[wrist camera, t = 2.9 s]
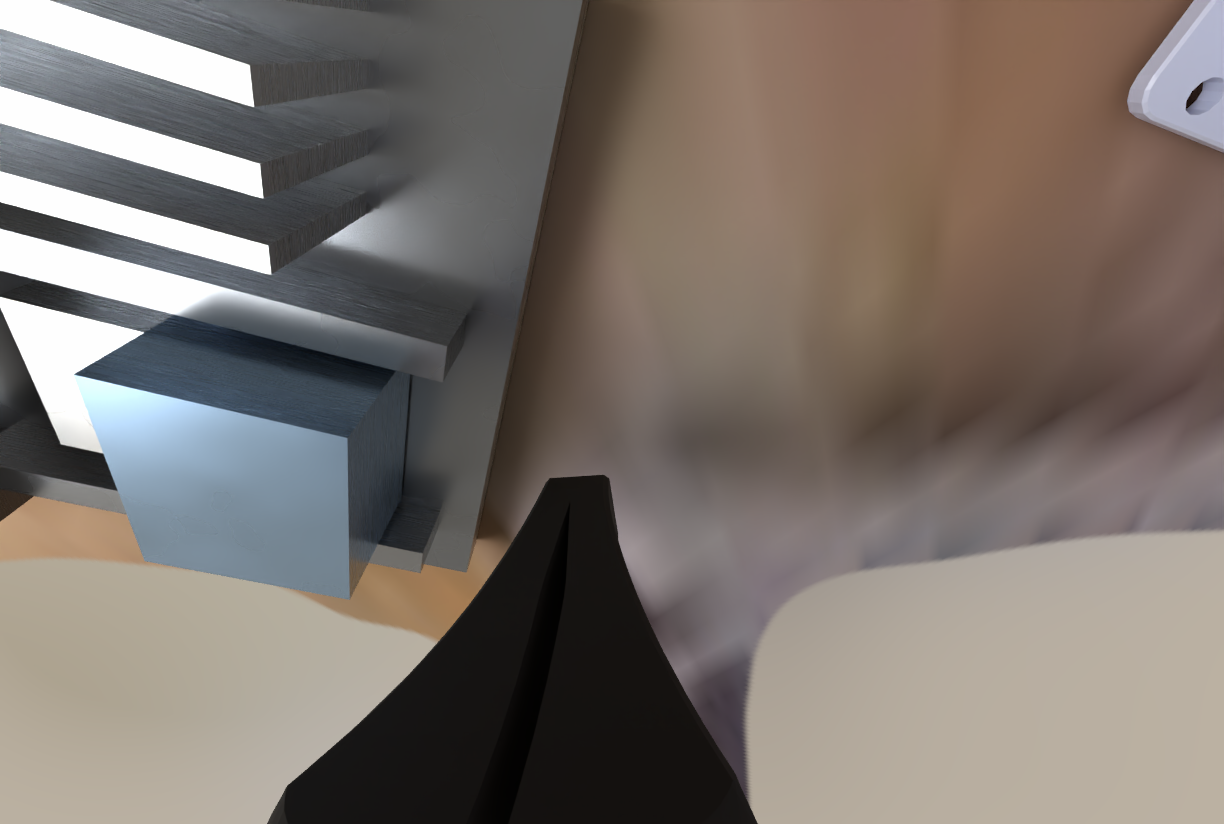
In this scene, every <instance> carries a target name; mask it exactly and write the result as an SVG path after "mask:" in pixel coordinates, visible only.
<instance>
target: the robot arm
mask: <svg viewBox="0 0 1224 824" xmlns="http://www.w3.org/2000/svg"><path fill="white" fill-rule="evenodd" d="M1202 82H1203V89H1202V92H1201V93H1200V95H1199V97H1198V98H1197V100H1196V101H1195V102H1194V103H1193V104H1192V105H1190V106H1189V107H1188V108H1187V109H1186V101H1187V99H1188V97H1189V96H1190V94H1191V92H1192V91H1193V90H1194V89H1195V88H1196V87H1197V86H1198V85H1199V84H1200V83H1202ZM1127 103H1128V107H1129V112H1130V113H1132V114H1133V115H1134V116H1135V117H1136V118H1138V119H1141V120H1143V121H1146V122H1148V123H1151V124H1153V125H1156V126H1158V127H1161V128H1163V129H1166V130H1168V131H1171V132H1173V133H1176V134H1178V135H1180V136H1183V137H1185V138H1188V139H1190V140H1193V141H1195V142H1198V143H1200V144H1203V145H1205V146H1208V147H1210V148H1213V149H1215V150H1218V151H1220V152H1223V153H1224V0H1194V1H1193V2H1192V4H1191V5H1190V6H1189V8H1188V9H1187V10H1186V12H1185V13H1184V14H1183V16H1182V17H1181V18H1180V20H1179V21H1178V22H1177V24H1176V25H1175V26H1174V28H1173V29H1172V30H1171V32H1170V33H1169V34H1168V36H1167V37H1166V38H1165V40H1164V41H1163V42H1162V44H1161V45H1160V46H1159V48H1158V49H1157V50H1156V52H1155V53H1154V54H1153V56H1152V57H1151V58H1150V60H1149V61H1148V62H1147V64H1146V65H1145V66H1144V68H1143V69H1142V70H1141V72H1140V73H1139V74H1138V76H1137V78H1136V79H1135V81H1134V83H1133V84H1132V86H1131V88H1130V91H1129V96H1128V100H1127ZM267 824H758V823H757V821H756V819H755V817H754V815H753V812H752V810H751V808H750V806H749V804H748V802H747V799H746V797H745V795H744V793H743V791H742V789H741V786H740V784H739V782H738V779H737V777H736V775H735V773H734V771H733V769H732V768H731V766H730V765H729V763H728V762H727V760H726V759H725V757H724V756H723V754H722V752H721V751H720V749H719V748H718V746H717V745H716V743H715V741H714V740H713V738H712V736H711V735H710V733H709V732H708V730H707V728H706V727H705V725H704V724H703V722H702V720H701V718H700V717H699V715H698V713H697V712H696V710H695V708H694V707H693V705H692V703H691V701H690V700H689V698H688V696H687V695H686V693H685V691H684V689H683V687H682V685H681V683H680V682H679V680H678V678H677V676H676V674H675V672H674V670H673V669H672V667H671V665H670V663H669V661H668V659H667V657H666V656H665V654H664V652H663V650H662V648H661V646H660V644H659V642H658V640H657V637H656V635H655V633H654V631H653V629H652V627H651V625H650V623H649V620H648V618H647V616H646V614H645V612H644V609H643V607H642V605H641V602H640V600H639V598H638V595H637V593H636V590H635V588H634V585H633V583H632V580H631V577H630V575H629V572H628V569H627V567H626V564H625V561H624V558H623V555H622V552H621V548H620V545H619V541H618V531H617V525H616V518H615V512H614V506H613V499H612V493H611V487H610V480H609V478H608V477H606V476H605V475H594V476H579V477H563V478H550V479H549V480H548V481H547V482H546V484H545V486H544V488H543V490H542V491H541V493H540V495H539V497H538V499H537V501H536V503H535V505H534V507H533V508H532V510H531V512H530V514H529V515H528V517H527V519H526V521H525V522H524V524H523V526H522V528H521V529H520V531H519V532H518V534H517V536H516V537H515V539H514V540H513V542H512V544H511V545H510V547H509V548H508V550H507V552H506V553H505V555H504V556H503V558H502V559H501V561H500V562H499V564H498V565H497V567H496V568H495V570H494V571H493V572H492V574H491V575H490V577H489V578H488V580H487V581H486V582H485V584H484V585H483V587H482V588H481V590H480V591H479V592H478V594H477V595H476V596H475V598H474V599H473V600H472V602H471V603H470V604H469V606H468V607H467V608H466V609H465V611H464V612H463V613H462V614H461V616H460V617H459V618H458V619H457V621H456V622H455V623H454V624H453V625H452V627H451V628H450V629H449V630H448V631H447V633H446V634H445V635H444V636H443V637H442V638H441V640H440V641H439V642H438V643H437V644H436V645H435V646H434V647H433V649H432V650H431V651H430V652H429V653H428V654H427V656H425V658H424V659H423V660H422V661H421V662H420V663H419V664H418V665H417V666H416V667H415V668H414V669H413V671H412V672H411V673H410V674H409V675H408V676H407V677H406V678H405V679H404V680H403V681H402V682H401V683H400V684H399V685H398V686H397V687H396V688H395V689H394V690H393V691H392V692H391V693H390V694H389V695H388V696H387V697H386V698H385V699H384V700H383V701H382V702H380V703H379V704H378V705H377V706H376V707H375V708H374V709H373V710H372V711H371V712H370V713H369V714H368V715H367V716H366V717H365V718H364V719H363V720H362V721H361V722H360V723H359V724H358V725H357V726H356V727H354V728H353V729H352V730H351V731H350V732H349V733H348V734H347V735H346V736H344V737H343V738H342V739H341V740H340V741H339V742H338V743H336V744H335V745H334V746H333V747H332V748H331V749H330V750H328V751H327V752H326V753H325V754H324V755H323V756H321V757H320V758H319V759H318V760H317V761H316V762H315V763H313V764H312V765H311V766H310V767H309V768H308V769H307V770H305V771H304V772H303V773H302V774H301V775H300V776H298V777H297V778H296V779H295V780H294V781H292V782H291V783H290V784H289V785H288V786H287V787H286V789H285V791H284V793H283V795H282V797H281V799H280V800H279V802H278V804H277V806H276V807H275V809H274V811H273V813H272V815H271V817H270V819H269V821H268V823H267Z"/></svg>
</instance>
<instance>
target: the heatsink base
mask: <svg viewBox="0 0 1224 824" xmlns="http://www.w3.org/2000/svg"><path fill="white" fill-rule="evenodd" d="M588 4H589V0H0V294H2V293H5V292H7V291H10V290H13V289H15V288H18V287H20V286H23V285H25V284H28V283H30V282H33V281H35V280H40V281H44V282H48V283H52V284H56V285H59V286H63V287H67V288H71V289H75V290H79V291H83V292H87V293H91V294H95V295H99V296H103V297H107V298H111V299H115V300H119V301H123V302H127V303H131V304H135V305H139V306H142V307H146V308H150V309H154V310H158V311H162V312H166V313H170V314H174V315H178V316H182V317H186V318H190V319H194V320H198V321H202V322H206V323H210V324H214V325H218V326H222V327H225V328H229V329H233V330H237V331H241V332H245V333H249V334H253V335H257V336H261V337H265V338H269V339H273V340H277V341H281V342H285V343H289V344H293V345H297V346H301V347H305V348H308V349H312V350H316V351H320V352H324V353H328V354H332V355H336V356H340V357H344V358H348V359H352V360H356V361H360V362H364V363H368V364H372V365H376V366H380V367H384V368H388V369H391V370H395V371H399V372H403V373H407V374H410V383H409V397H408V411H407V425H406V439H405V452H404V466H403V480H402V494H401V500H400V501H399V503H398V505H397V507H396V509H395V511H394V513H393V515H392V517H391V519H390V521H389V523H388V525H387V527H386V529H385V531H384V533H383V535H382V537H381V539H380V541H379V543H378V545H377V547H376V549H375V551H374V553H373V555H372V557H371V559H370V561H369V563H373V564H378V565H383V566H388V567H393V568H398V569H403V570H408V571H413V572H418V573H421V570H422V568H423V565H424V564H427V565H432V566H437V567H442V568H447V569H452V570H457V571H462V572H467V569H468V566H469V563H470V560H471V556H472V553H473V550H474V547H475V543H476V540H477V535H478V531H479V526H480V521H481V516H482V511H483V507H484V502H485V497H486V492H487V487H488V483H489V478H490V473H491V468H492V464H493V459H494V454H495V449H496V444H497V440H498V435H499V430H500V425H501V420H502V416H503V411H504V406H505V401H506V396H507V392H508V387H509V382H510V377H511V373H512V368H513V363H514V358H515V353H516V349H517V344H518V339H519V334H520V329H521V325H522V320H523V315H524V310H525V306H526V301H527V296H528V291H529V286H530V282H531V277H532V272H533V267H534V262H535V258H536V253H537V248H538V243H539V239H540V234H541V229H542V224H543V219H544V215H545V210H546V205H547V200H548V195H549V191H550V186H551V181H552V176H553V172H554V167H555V162H556V157H557V152H558V148H559V143H560V138H561V133H562V128H563V124H564V119H565V114H566V109H567V105H568V100H569V95H570V90H571V85H572V81H573V76H574V71H575V66H576V61H577V57H578V52H579V47H580V42H581V37H582V33H583V28H584V23H585V18H586V14H587V9H588ZM33 496H37V497H42V498H47V499H52V500H57V501H62V502H67V503H72V504H77V505H82V506H87V507H92V508H97V509H102V510H107V511H112V512H117V513H122V514H127V513H126V511H125V508H124V506H123V503H122V500H121V498H120V495H119V493H118V490H117V487H116V485H115V482H114V480H113V477H112V474H111V472H110V469H109V467H108V464H107V461H106V459H105V456H104V454H103V453H99V452H94V451H90V450H85V449H80V448H76V447H71V446H66V445H62V444H61V443H60V441H59V438H58V436H57V434H56V432H55V429H54V427H53V425H52V423H51V420H50V418H49V416H48V414H47V411H46V409H45V407H44V405H43V402H42V400H41V398H40V396H39V393H38V391H37V389H36V387H35V384H34V382H33V380H32V377H31V375H30V373H29V371H28V368H27V366H26V364H25V362H24V359H23V357H22V355H21V353H20V350H19V348H18V346H17V344H16V341H15V339H14V337H13V335H12V332H11V330H10V328H9V325H8V323H7V321H6V319H5V316H4V314H3V312H2V310H1V307H0V521H2V520H3V519H4V518H6V517H7V516H8V515H9V514H11V513H12V512H13V511H15V510H16V509H17V508H19V507H20V506H21V505H23V504H24V503H25V502H27V501H28V500H29V499H31V498H32V497H33Z"/></svg>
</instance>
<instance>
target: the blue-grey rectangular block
mask: <svg viewBox="0 0 1224 824" xmlns="http://www.w3.org/2000/svg"><path fill="white" fill-rule="evenodd" d="M0 307H1V310H2V312H3V314H4V316H5V319H6V321H7V323H8V325H9V328H10V330H11V332H12V335H13V337H14V339H15V341H16V344H17V346H18V348H19V350H20V353H21V355H22V357H23V359H24V362H25V364H26V366H27V368H28V371H29V373H30V375H31V377H32V380H33V382H34V384H35V387H36V389H37V391H38V393H39V396H40V398H41V400H42V402H43V405H44V407H45V409H46V411H47V414H48V416H49V418H50V420H51V423H52V425H53V427H54V429H55V432H56V434H57V436H58V438H59V441H60V443H61V444H62V445H66V446H71V447H76V448H80V449H85V450H90V451H94V452H99V453H103V454H104V456H105V459H106V461H107V464H108V467H109V469H110V472H111V474H112V477H113V480H114V482H115V485H116V487H117V490H118V493H119V495H120V498H121V500H122V503H123V506H124V508H125V511H126V513H127V516H128V519H129V521H130V524H131V526H132V529H133V532H134V534H135V537H136V539H137V542H138V545H139V547H140V550H141V552H142V555H143V558H144V560H145V561H147V562H153V563H158V564H163V565H168V566H174V567H179V568H184V569H190V570H195V571H200V572H206V573H211V574H216V575H221V576H227V577H232V578H237V579H243V580H248V581H253V582H259V583H264V584H269V585H274V586H280V587H285V588H290V589H296V590H301V591H306V592H312V593H317V594H322V595H328V596H333V597H338V598H343V599H349V600H350V598H351V596H352V594H353V592H354V590H355V588H356V586H357V584H358V582H359V580H360V578H361V576H362V574H363V572H364V570H365V568H366V566H367V565H368V563H369V561H370V559H371V557H372V555H373V553H374V551H375V549H376V547H377V545H378V543H379V541H380V539H381V537H382V535H383V533H384V531H385V529H386V527H387V525H388V523H389V521H390V519H391V517H392V515H393V513H394V511H395V509H396V507H397V505H398V503H399V501H400V500H401V494H402V480H403V466H404V452H405V439H406V425H407V411H408V397H409V383H410V374H407V373H403V372H399V371H395V370H391V369H388V368H384V367H380V366H376V365H372V364H368V363H364V362H360V361H356V360H352V359H348V358H344V357H340V356H336V355H332V354H328V353H324V352H320V351H316V350H312V349H308V348H305V347H301V346H297V345H293V344H289V343H285V342H281V341H277V340H273V339H269V338H265V337H261V336H257V335H253V334H249V333H245V332H241V331H237V330H233V329H229V328H225V327H222V326H218V325H214V324H210V323H206V322H202V321H198V320H194V319H190V318H186V317H182V316H178V315H174V314H170V313H166V312H162V311H158V310H154V309H150V308H146V307H142V306H139V305H135V304H131V303H127V302H123V301H119V300H115V299H111V298H107V297H103V296H99V295H95V294H91V293H87V292H83V291H79V290H75V289H71V288H67V287H63V286H59V285H56V284H52V283H48V282H44V281H40V280H35V281H33V282H30V283H28V284H25V285H23V286H20V287H18V288H15V289H13V290H10V291H7V292H5V293H2V294H0Z"/></svg>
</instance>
